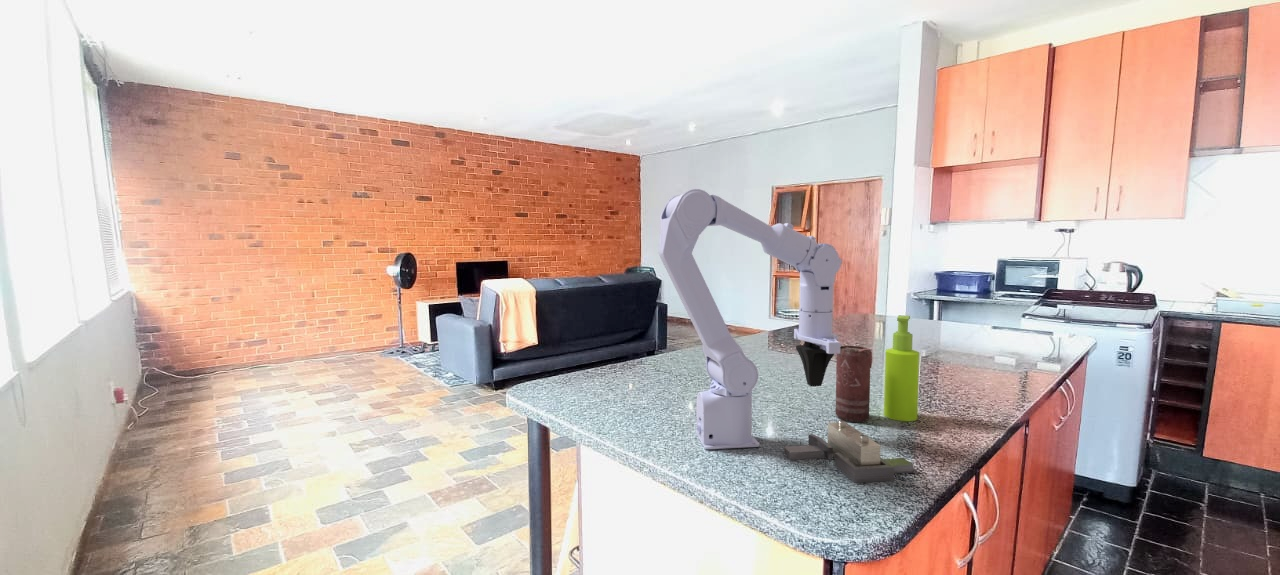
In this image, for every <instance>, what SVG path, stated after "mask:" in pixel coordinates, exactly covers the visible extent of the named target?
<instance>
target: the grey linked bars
mask: <svg viewBox="0 0 1280 575" xmlns="http://www.w3.org/2000/svg"><path fill="white" fill-rule="evenodd" d="M783 454H784V456H786V457H787V459H788V460H789V461H793V460H794V461H795V460H810V459H811V460H812V459H826V460H828V461H832V460H833V458H834V457H833V447H831V446H830V445H829V444H828V441H827V442H826V441H825V440H824V439H823V438H822V437H819V436H817V435H815V434H813V433H810V434H808V444H807V445H806V444H805V445H790V446H789V445H787V446H783ZM834 466H835V468H837V469H838V471H840V472H841V473H842V474H843V475H844V476H846V477H847V478H848V479H849V480H850V481H851V482H852V483H854V484H860V483H877V482H892V481H894V480H895V474H909V473H914V464H913V463H912V462H910V461H909V460H907V459H905V458H904V457H895V458H882V457H881V456H880V465H878V466H861V467H856V466H855V465H853V464H852V463H851V462H850V461H849V460H847V459H846V458H845V457H844V456H842V455H841V454H840V453H835V458H834Z"/></svg>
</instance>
